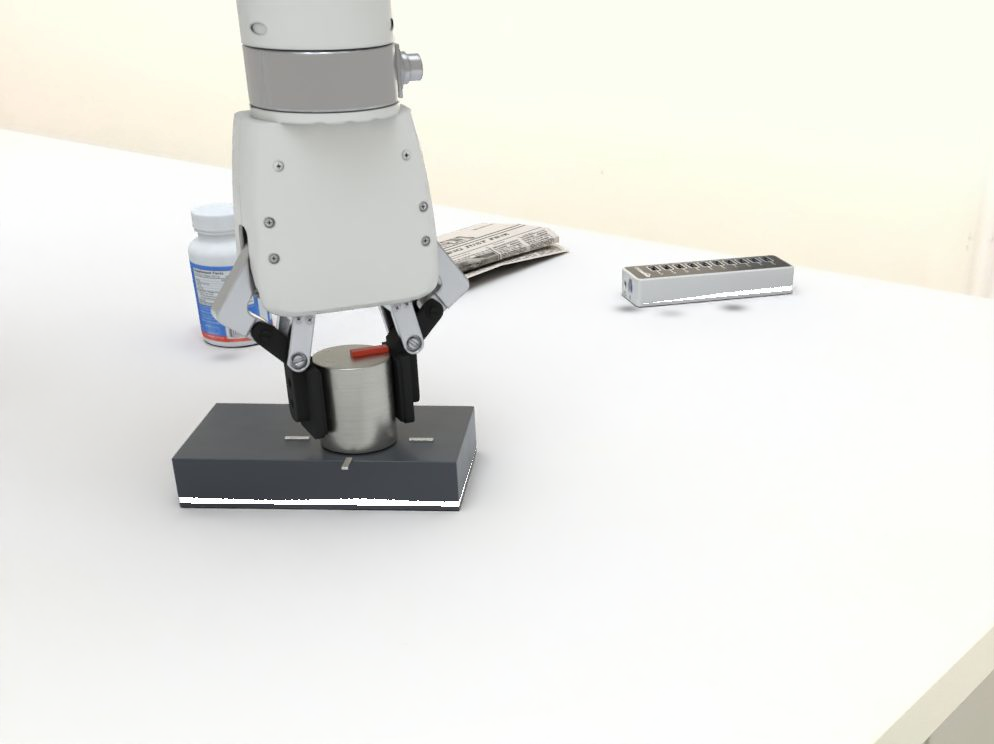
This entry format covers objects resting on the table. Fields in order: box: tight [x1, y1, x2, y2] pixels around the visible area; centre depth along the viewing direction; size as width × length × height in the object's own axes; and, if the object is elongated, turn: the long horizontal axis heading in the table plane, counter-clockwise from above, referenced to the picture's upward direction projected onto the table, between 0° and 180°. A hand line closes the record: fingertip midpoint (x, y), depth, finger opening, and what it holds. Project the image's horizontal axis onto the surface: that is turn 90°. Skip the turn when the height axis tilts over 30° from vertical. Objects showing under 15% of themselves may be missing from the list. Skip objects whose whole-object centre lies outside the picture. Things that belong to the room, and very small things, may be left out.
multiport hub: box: [621, 254, 795, 308], centre depth 115 cm, size 4×14×2 cm, turn 110°
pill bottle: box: [187, 202, 274, 348], centre depth 101 cm, size 6×5×10 cm
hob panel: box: [171, 402, 478, 511], centre depth 79 cm, size 16×10×3 cm, turn 90°
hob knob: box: [311, 343, 398, 454], centre depth 76 cm, size 4×4×5 cm
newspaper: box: [437, 222, 570, 279], centre depth 121 cm, size 23×12×2 cm, turn 146°
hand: (357, 420), depth 77 cm, fingers closed on hob knob, 4 cm apart
